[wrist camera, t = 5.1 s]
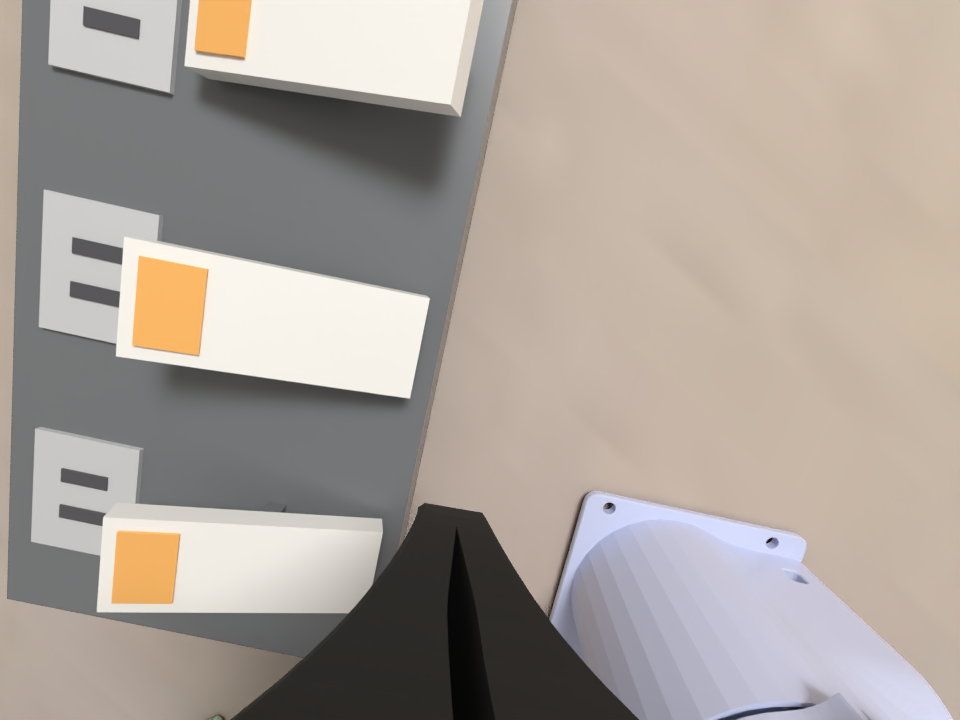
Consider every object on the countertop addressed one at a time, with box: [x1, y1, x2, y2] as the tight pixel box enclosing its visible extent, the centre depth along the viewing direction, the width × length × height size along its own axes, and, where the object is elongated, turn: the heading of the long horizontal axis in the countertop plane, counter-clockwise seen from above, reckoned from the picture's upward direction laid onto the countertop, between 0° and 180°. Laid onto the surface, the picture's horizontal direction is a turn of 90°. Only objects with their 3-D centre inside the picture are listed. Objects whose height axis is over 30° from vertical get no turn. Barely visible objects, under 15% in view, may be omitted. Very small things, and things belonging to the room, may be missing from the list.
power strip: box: [7, 0, 518, 658], centre depth 16 cm, size 14×26×4 cm, turn 167°
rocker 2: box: [97, 503, 383, 613], centre depth 15 cm, size 8×3×1 cm, turn 77°
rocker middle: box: [116, 237, 430, 399], centre depth 14 cm, size 8×3×1 cm, turn 77°
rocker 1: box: [184, 0, 484, 117], centre depth 12 cm, size 8×3×1 cm, turn 77°
